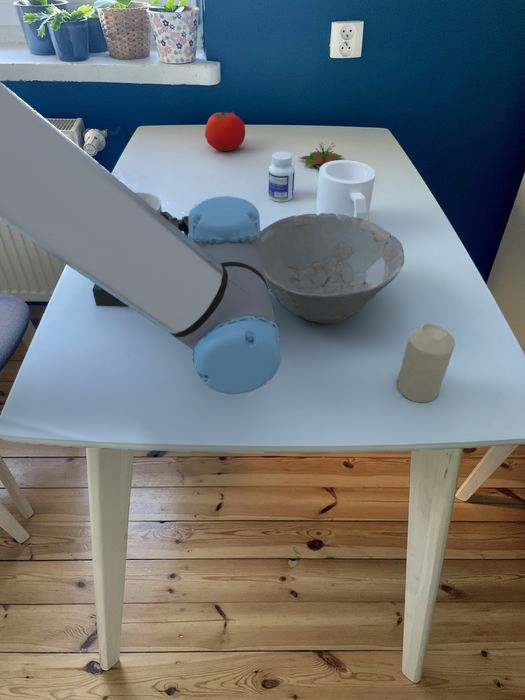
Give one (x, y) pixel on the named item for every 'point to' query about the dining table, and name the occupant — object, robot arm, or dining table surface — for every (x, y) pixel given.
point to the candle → (425, 363)
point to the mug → (345, 188)
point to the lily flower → (321, 157)
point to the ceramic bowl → (328, 264)
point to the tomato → (225, 131)
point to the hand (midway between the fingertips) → (125, 215)
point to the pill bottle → (281, 177)
